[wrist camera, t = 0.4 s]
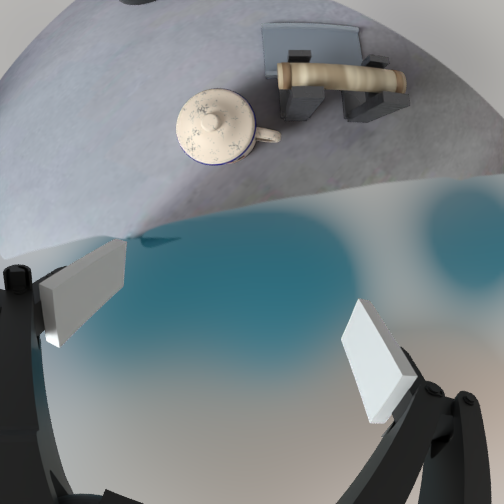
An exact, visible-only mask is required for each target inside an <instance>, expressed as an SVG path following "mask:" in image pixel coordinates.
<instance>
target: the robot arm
mask: <svg viewBox="0 0 504 504" xmlns="http://www.w3.org/2000/svg"><path fill="white" fill-rule="evenodd" d="M119 1H120V2H122V3H125V4H129V5H140V4H145V3H149V2H153V1H156V0H119ZM126 246H127V242H126V241H122V240H119V239H114V240H112V241H110V242H108V243H107V244H105V245H103V246H101V247H99V248H98V249H96V250H94V251H92V252H91V253H89V254H87V255H85V256H84V257H82V258H80V259H79V260H77V261H75V262H74V263H72V264H70V265H69V266H64V267H60V268H57V269H55V270H54V271H52V272H51V273H49V274H47V275H46V276H44V277H42V278H41V279H39V280H37V281H36V282H34V283H33V284H32V275H31V269H30V268H29V267H28V266H25V265H19V264H18V265H12V266H9V267H7V268H5V270H4V271H3V275H4V283H5V290H2V289H0V504H143V503H141V502H138V501H135V500H132V499H129V498H127V497H124V496H121V495H119V494H116V493H114V492H111V491H109V490H107V489H105V492H104V494H103V496H101V495H94V494H73V492H72V489H71V487H70V485H69V483H68V481H67V479H66V476H65V473H64V470H63V467H62V464H61V460H60V457H59V454H58V450H57V446H56V442H55V437H54V433H53V429H52V424H51V419H50V414H49V408H48V403H47V396H46V390H45V382H44V374H43V364H42V352H41V339H40V334H41V333H42V332H43V331H44V330H45V334H46V340H47V342H49V343H51V344H53V345H55V346H57V347H61V346H62V345H63V344H64V343H65V342H66V341H67V340H68V339H69V338H70V337H71V336H72V335H73V334H74V333H75V332H76V331H77V330H78V329H79V328H80V327H81V326H82V325H83V324H84V323H85V322H86V321H87V320H88V319H89V318H90V317H91V316H92V315H93V314H94V313H95V312H96V311H97V310H98V309H100V308H101V307H102V306H103V305H104V304H105V303H106V302H107V301H108V300H109V299H110V298H111V297H112V296H113V295H114V294H115V293H116V292H118V291H119V290H120V289H121V288H122V287H123V285H124V270H125V257H126ZM341 340H342V343H343V346H344V349H345V351H346V354H347V357H348V360H349V363H350V365H351V368H352V371H353V374H354V377H355V380H356V383H357V385H358V388H359V391H360V394H361V397H362V400H363V404H364V406H365V409H366V413H367V416H368V419H369V422H370V423H385V422H386V421H387V420H388V418H389V417H390V416H391V414H392V415H393V418H394V422H393V423H392V424H391V425H390V426H389V428H388V429H387V430H386V431H385V433H384V434H383V435H382V437H383V438H382V440H381V442H380V444H379V445H378V446H377V448H376V450H375V451H374V453H373V454H372V456H371V457H370V459H369V460H368V462H367V463H366V465H365V466H364V468H363V469H362V470H361V472H360V473H359V475H358V476H357V477H356V479H355V480H354V482H353V483H352V484H351V485H350V487H349V488H348V489H347V491H346V492H345V493H344V494H343V496H342V497H341V498H340V499H339V501H338V502H337V503H336V504H405V502H406V500H407V499H408V496H409V494H410V492H411V490H412V488H413V486H414V484H415V482H416V479H417V477H418V475H419V472H420V470H421V467H422V465H423V463H424V465H423V474H422V482H421V488H420V495H419V501H418V504H491V479H490V468H489V458H488V450H487V443H486V436H485V431H484V425H483V419H482V414H481V409H480V405H479V402H478V400H477V399H476V397H475V396H474V395H473V394H472V393H469V392H466V391H460V392H459V393H458V394H457V396H456V397H455V399H452V398H449V397H445V394H444V392H443V390H442V389H441V388H440V387H439V386H438V385H437V384H435V383H432V382H430V381H425V379H424V377H423V376H422V374H421V373H420V371H419V369H418V368H417V366H416V364H415V363H414V362H413V361H412V358H411V356H410V355H409V353H407V351H405V350H404V349H403V348H402V347H400V346H399V345H398V343H397V342H396V340H395V338H394V337H393V335H392V334H391V332H390V331H389V329H388V327H387V326H386V325H385V323H384V321H383V320H382V318H381V317H380V315H379V314H378V312H377V311H376V309H375V308H374V306H373V305H372V303H371V302H370V301H368V300H363V299H358V301H357V303H356V306H355V308H354V311H353V313H352V315H351V318H350V320H349V322H348V325H347V327H346V329H345V331H344V334H343V336H342V338H341Z"/></svg>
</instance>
